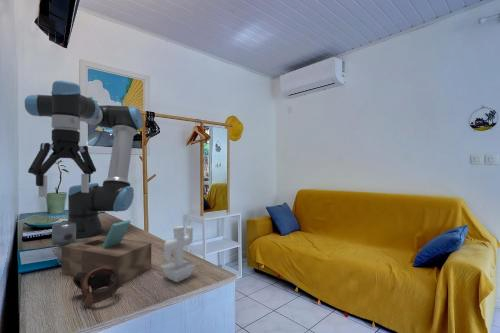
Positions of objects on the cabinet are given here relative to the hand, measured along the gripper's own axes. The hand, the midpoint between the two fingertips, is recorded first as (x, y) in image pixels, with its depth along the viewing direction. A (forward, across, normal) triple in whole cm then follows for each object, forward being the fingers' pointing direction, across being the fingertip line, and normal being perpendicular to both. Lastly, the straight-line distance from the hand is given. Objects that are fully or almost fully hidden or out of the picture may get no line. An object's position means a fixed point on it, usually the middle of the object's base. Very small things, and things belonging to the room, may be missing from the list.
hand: (65, 194), depth 84 cm
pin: (+23, 0, 0) cm, 23 cm away
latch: (+11, +1, -22) cm, 24 cm away
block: (+23, +1, -18) cm, 29 cm away
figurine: (+23, +5, -41) cm, 47 cm away
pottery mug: (+23, -12, -29) cm, 39 cm away
